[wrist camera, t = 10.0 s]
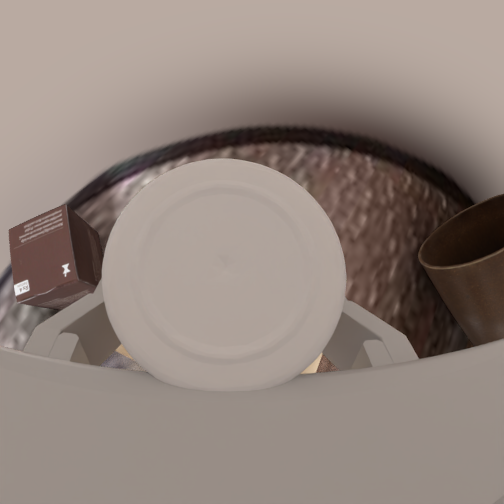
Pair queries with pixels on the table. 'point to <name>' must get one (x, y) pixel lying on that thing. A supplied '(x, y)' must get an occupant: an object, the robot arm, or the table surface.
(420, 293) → the table surface
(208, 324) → the sprinkles bottle
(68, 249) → the box
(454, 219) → the plant pot
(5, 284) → the table surface
